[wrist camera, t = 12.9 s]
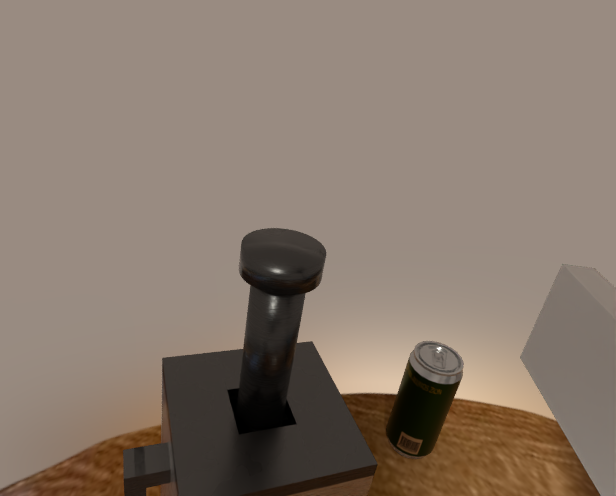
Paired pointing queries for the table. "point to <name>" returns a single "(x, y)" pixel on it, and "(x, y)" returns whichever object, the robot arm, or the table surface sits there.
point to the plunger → (273, 319)
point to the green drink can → (424, 398)
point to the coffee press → (250, 436)
